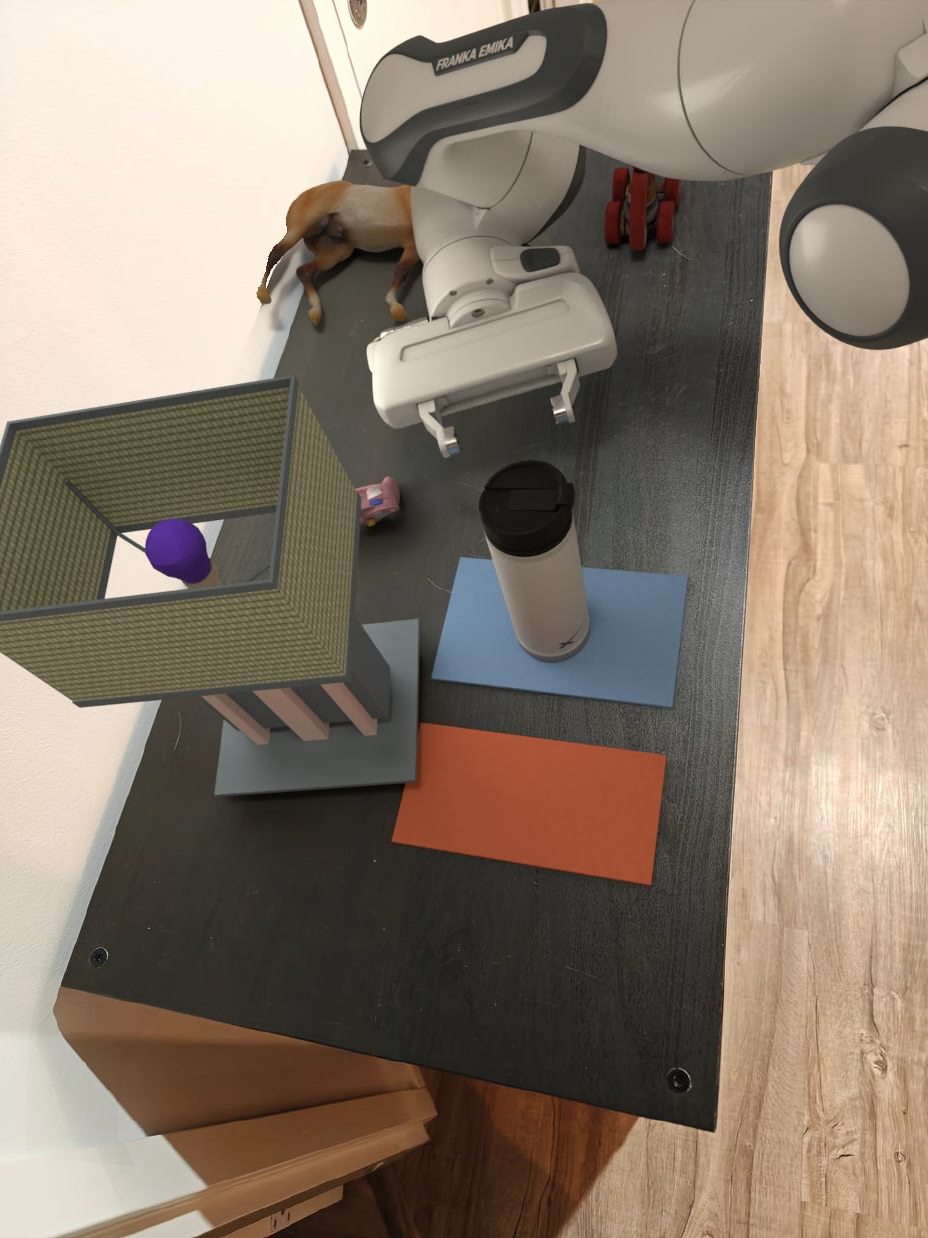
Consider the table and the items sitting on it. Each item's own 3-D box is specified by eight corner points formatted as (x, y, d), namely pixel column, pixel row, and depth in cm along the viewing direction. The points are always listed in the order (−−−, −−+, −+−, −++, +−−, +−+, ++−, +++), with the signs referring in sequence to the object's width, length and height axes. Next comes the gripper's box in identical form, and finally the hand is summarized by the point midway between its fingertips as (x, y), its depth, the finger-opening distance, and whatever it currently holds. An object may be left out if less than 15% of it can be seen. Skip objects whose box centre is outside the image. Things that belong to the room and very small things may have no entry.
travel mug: (590, 666, 77) (567, 533, 60) (511, 660, 79) (467, 529, 62) (598, 599, 80) (579, 454, 63) (521, 594, 82) (482, 451, 64)
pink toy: (312, 552, 90) (294, 543, 83) (299, 507, 91) (280, 494, 84) (411, 522, 90) (401, 511, 83) (397, 476, 90) (386, 461, 83)
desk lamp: (218, 804, 78) (-52, 625, 50) (237, 651, 85) (8, 417, 57) (432, 789, 75) (271, 587, 47) (435, 631, 82) (294, 370, 53)
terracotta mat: (666, 756, 73) (666, 754, 73) (651, 886, 69) (651, 885, 68) (421, 724, 78) (420, 722, 78) (392, 842, 74) (391, 841, 74)
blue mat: (688, 578, 80) (688, 575, 80) (672, 709, 75) (672, 707, 74) (461, 559, 85) (460, 556, 85) (431, 680, 80) (430, 678, 80)
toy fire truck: (602, 264, 99) (595, 177, 90) (618, 182, 104) (614, 93, 95) (669, 264, 97) (669, 176, 88) (683, 181, 102) (684, 90, 93)
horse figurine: (500, 326, 97) (520, 191, 106) (485, 267, 91) (507, 128, 100) (228, 348, 105) (268, 220, 115) (195, 294, 99) (241, 164, 108)
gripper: (351, 313, 79) (371, 451, 74) (589, 239, 76) (628, 377, 71) (376, 358, 85) (396, 489, 80) (598, 291, 82) (635, 422, 76)
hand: (507, 436), depth 75 cm, fingers open, 8 cm apart
